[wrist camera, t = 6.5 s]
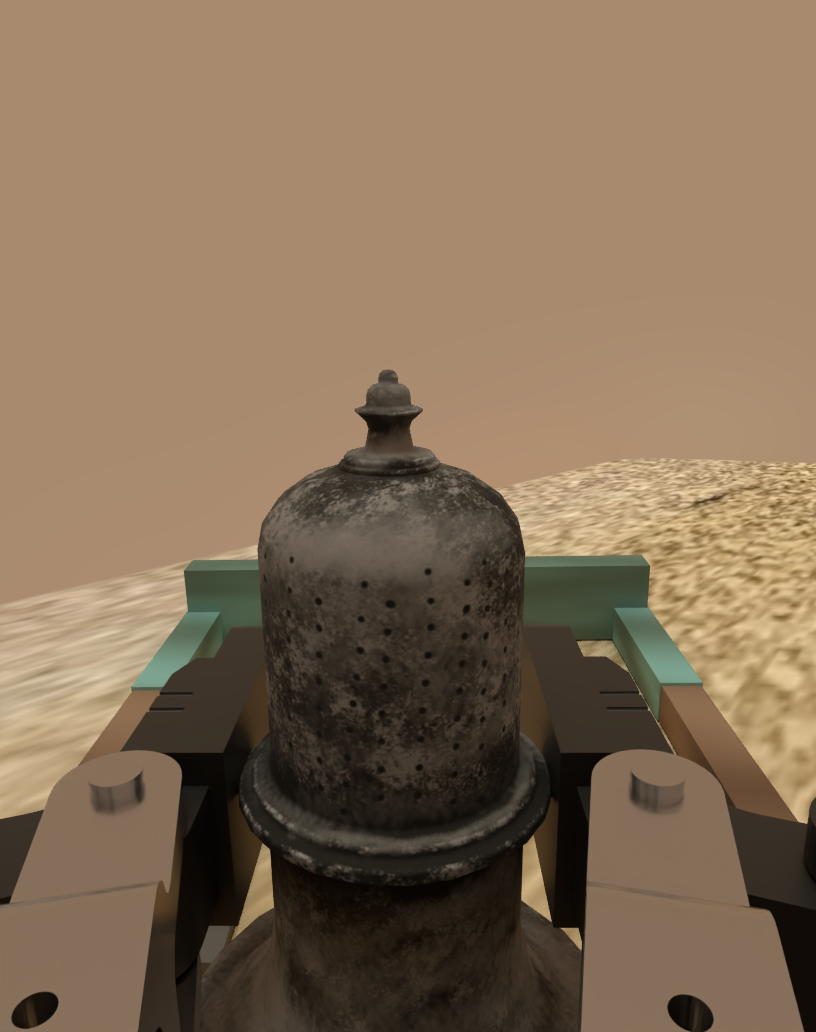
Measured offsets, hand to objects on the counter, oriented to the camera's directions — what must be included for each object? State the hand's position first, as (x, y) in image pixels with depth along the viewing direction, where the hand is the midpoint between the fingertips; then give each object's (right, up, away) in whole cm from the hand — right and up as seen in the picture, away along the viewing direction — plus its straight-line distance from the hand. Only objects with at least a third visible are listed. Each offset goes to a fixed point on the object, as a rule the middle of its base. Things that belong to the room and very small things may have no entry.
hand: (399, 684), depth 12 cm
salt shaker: (0, -8, -1) cm, 8 cm away
